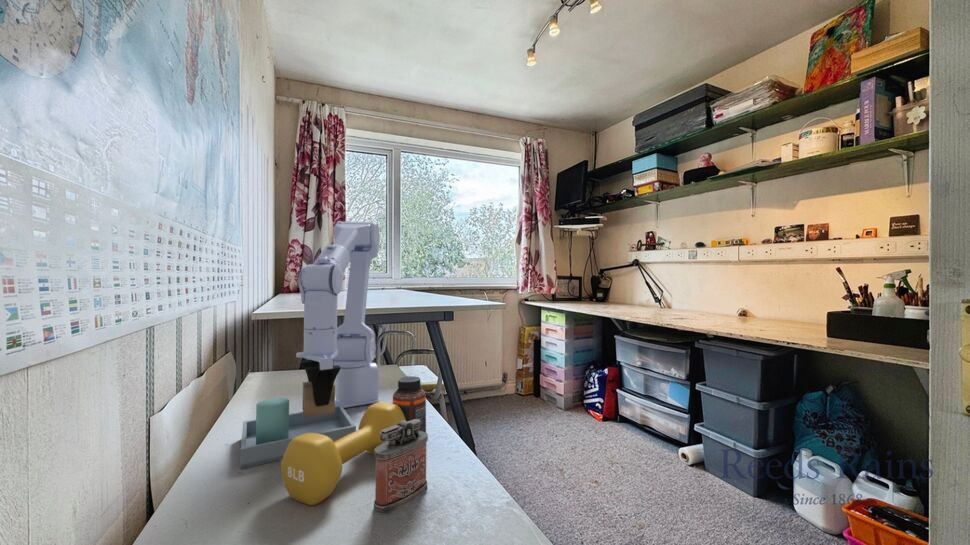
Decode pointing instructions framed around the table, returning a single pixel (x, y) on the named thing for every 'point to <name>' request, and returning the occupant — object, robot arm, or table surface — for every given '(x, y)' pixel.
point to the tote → (292, 435)
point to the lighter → (400, 466)
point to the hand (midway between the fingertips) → (319, 400)
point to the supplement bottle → (411, 400)
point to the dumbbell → (332, 454)
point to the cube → (309, 402)
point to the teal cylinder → (272, 420)
